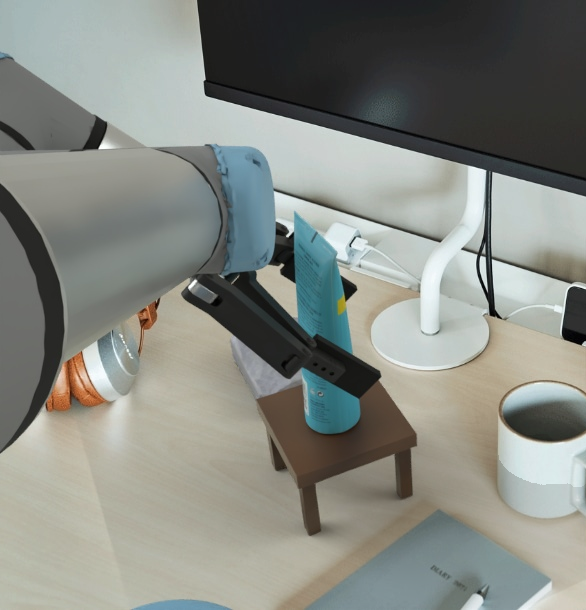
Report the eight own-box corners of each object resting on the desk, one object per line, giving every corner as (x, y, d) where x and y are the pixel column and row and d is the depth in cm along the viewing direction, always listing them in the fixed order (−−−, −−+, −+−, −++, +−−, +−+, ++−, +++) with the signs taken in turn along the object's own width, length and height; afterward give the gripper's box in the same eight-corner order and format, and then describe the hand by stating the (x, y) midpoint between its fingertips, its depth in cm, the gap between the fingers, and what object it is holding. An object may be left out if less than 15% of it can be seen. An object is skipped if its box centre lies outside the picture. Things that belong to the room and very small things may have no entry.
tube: (378, 427, 81) (365, 240, 70) (331, 451, 79) (310, 262, 68) (333, 384, 86) (314, 203, 75) (287, 405, 83) (260, 221, 72)
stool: (306, 541, 81) (296, 476, 76) (266, 461, 89) (255, 399, 84) (419, 496, 85) (416, 433, 81) (371, 424, 93) (367, 363, 88)
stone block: (308, 344, 106) (222, 356, 101) (313, 309, 104) (225, 320, 99) (349, 407, 98) (259, 424, 93) (356, 371, 96) (263, 387, 91)
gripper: (109, 163, 76) (312, 290, 88) (86, 333, 57) (349, 465, 70) (164, 96, 74) (364, 236, 87) (159, 250, 55) (416, 401, 68)
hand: (357, 338), depth 78 cm, fingers open, 12 cm apart
